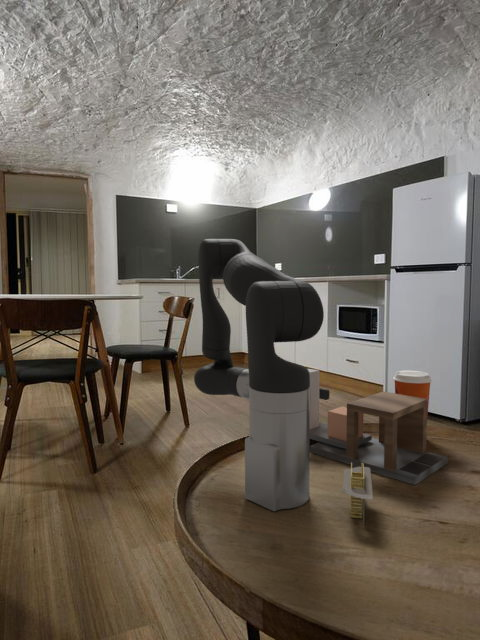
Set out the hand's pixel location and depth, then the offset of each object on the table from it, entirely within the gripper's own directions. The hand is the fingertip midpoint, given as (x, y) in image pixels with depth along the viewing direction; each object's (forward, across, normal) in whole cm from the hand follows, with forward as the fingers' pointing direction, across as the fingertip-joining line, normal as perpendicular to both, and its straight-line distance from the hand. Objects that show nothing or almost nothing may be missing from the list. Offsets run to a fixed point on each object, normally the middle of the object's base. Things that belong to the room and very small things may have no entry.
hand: (317, 398), depth 97 cm
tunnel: (+14, 0, +9) cm, 16 cm away
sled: (+3, 0, +7) cm, 8 cm away
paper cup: (+13, +15, +9) cm, 22 cm away
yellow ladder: (+22, -20, +10) cm, 32 cm away
